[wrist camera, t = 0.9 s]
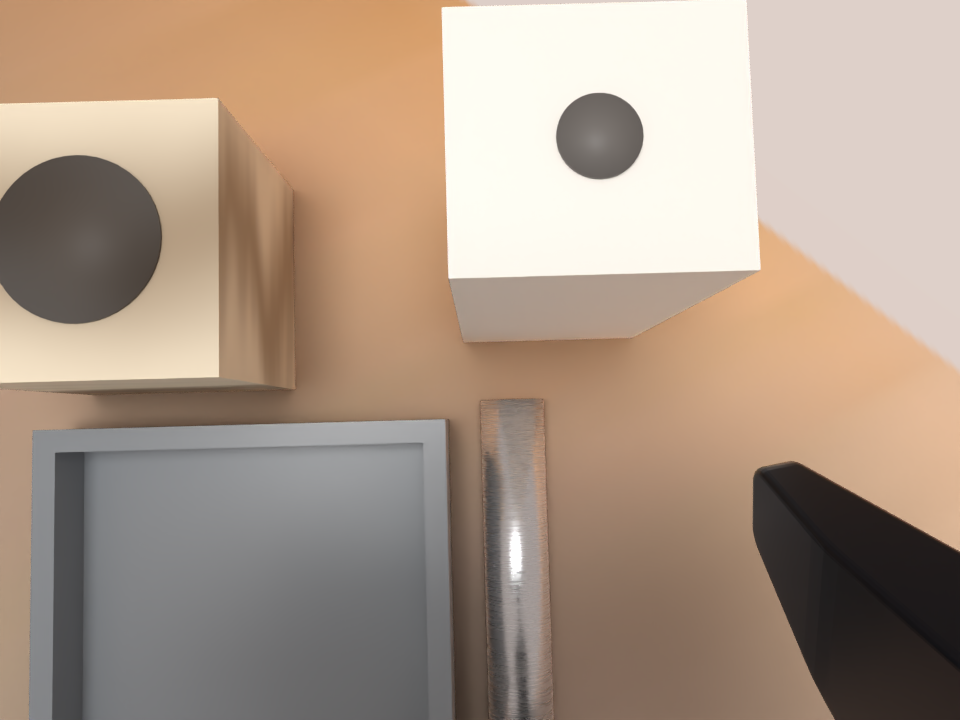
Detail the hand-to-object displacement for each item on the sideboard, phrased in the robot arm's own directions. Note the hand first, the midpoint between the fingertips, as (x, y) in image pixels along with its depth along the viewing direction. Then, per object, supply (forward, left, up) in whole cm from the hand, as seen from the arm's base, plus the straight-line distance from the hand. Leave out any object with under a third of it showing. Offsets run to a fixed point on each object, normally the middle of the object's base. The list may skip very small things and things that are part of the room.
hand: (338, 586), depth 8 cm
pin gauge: (-3, -3, -14) cm, 15 cm away
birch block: (+6, +7, -15) cm, 18 cm away
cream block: (+6, -4, -15) cm, 17 cm away
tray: (-4, +5, -15) cm, 16 cm away
